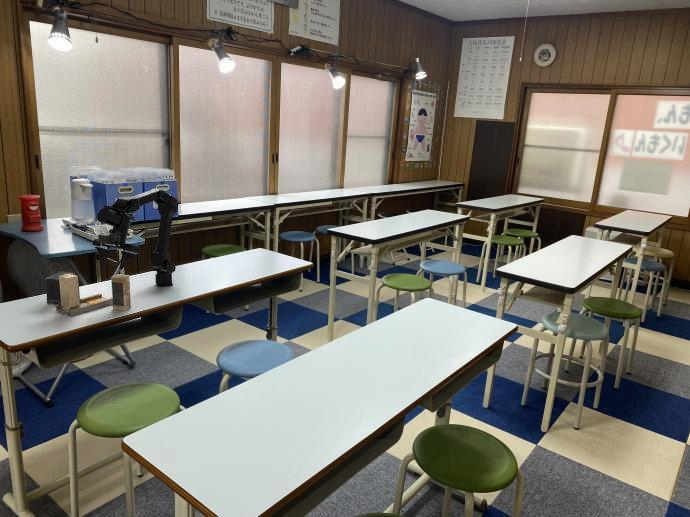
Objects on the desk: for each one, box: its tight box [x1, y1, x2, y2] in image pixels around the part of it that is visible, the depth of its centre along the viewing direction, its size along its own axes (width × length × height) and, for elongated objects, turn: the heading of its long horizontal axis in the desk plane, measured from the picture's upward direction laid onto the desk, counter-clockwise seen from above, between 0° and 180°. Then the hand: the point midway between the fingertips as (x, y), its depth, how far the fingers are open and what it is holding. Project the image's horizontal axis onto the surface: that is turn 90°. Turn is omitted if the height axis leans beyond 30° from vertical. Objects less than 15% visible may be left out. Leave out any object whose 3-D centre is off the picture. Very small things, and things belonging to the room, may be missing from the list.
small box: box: [44, 270, 76, 305], centre depth 199 cm, size 11×6×10 cm, turn 179°
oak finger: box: [110, 273, 132, 311], centre depth 194 cm, size 5×5×13 cm
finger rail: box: [55, 274, 113, 317], centre depth 193 cm, size 18×9×14 cm, turn 151°
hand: (111, 267), depth 196 cm, fingers open, 9 cm apart
